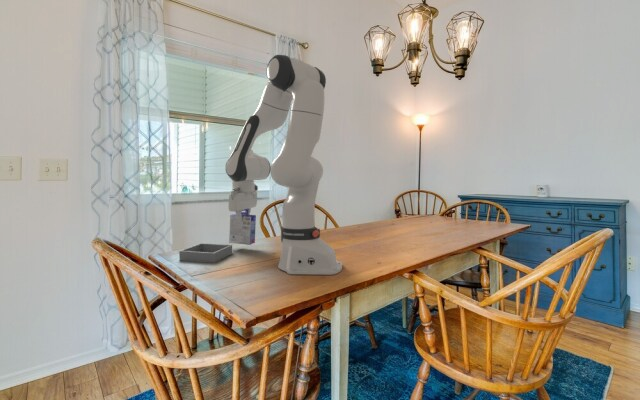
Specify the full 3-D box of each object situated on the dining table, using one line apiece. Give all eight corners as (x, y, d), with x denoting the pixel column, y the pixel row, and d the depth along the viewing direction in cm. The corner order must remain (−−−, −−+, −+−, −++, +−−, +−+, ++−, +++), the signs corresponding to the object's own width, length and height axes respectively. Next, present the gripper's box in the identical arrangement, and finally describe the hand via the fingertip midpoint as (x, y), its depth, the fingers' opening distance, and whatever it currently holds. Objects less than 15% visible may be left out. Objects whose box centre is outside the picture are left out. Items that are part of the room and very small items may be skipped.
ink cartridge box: (255, 242, 145) (256, 209, 143) (250, 245, 140) (251, 211, 138) (234, 240, 147) (235, 207, 145) (228, 243, 142) (229, 209, 140)
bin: (232, 253, 136) (232, 245, 136) (214, 262, 122) (213, 253, 122) (200, 251, 139) (200, 243, 139) (179, 260, 125) (179, 251, 125)
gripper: (239, 188, 130) (239, 223, 131) (259, 186, 150) (259, 217, 151) (224, 188, 132) (224, 223, 133) (246, 186, 152) (246, 216, 153)
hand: (243, 219), depth 142 cm, fingers closed on ink cartridge box, 5 cm apart
